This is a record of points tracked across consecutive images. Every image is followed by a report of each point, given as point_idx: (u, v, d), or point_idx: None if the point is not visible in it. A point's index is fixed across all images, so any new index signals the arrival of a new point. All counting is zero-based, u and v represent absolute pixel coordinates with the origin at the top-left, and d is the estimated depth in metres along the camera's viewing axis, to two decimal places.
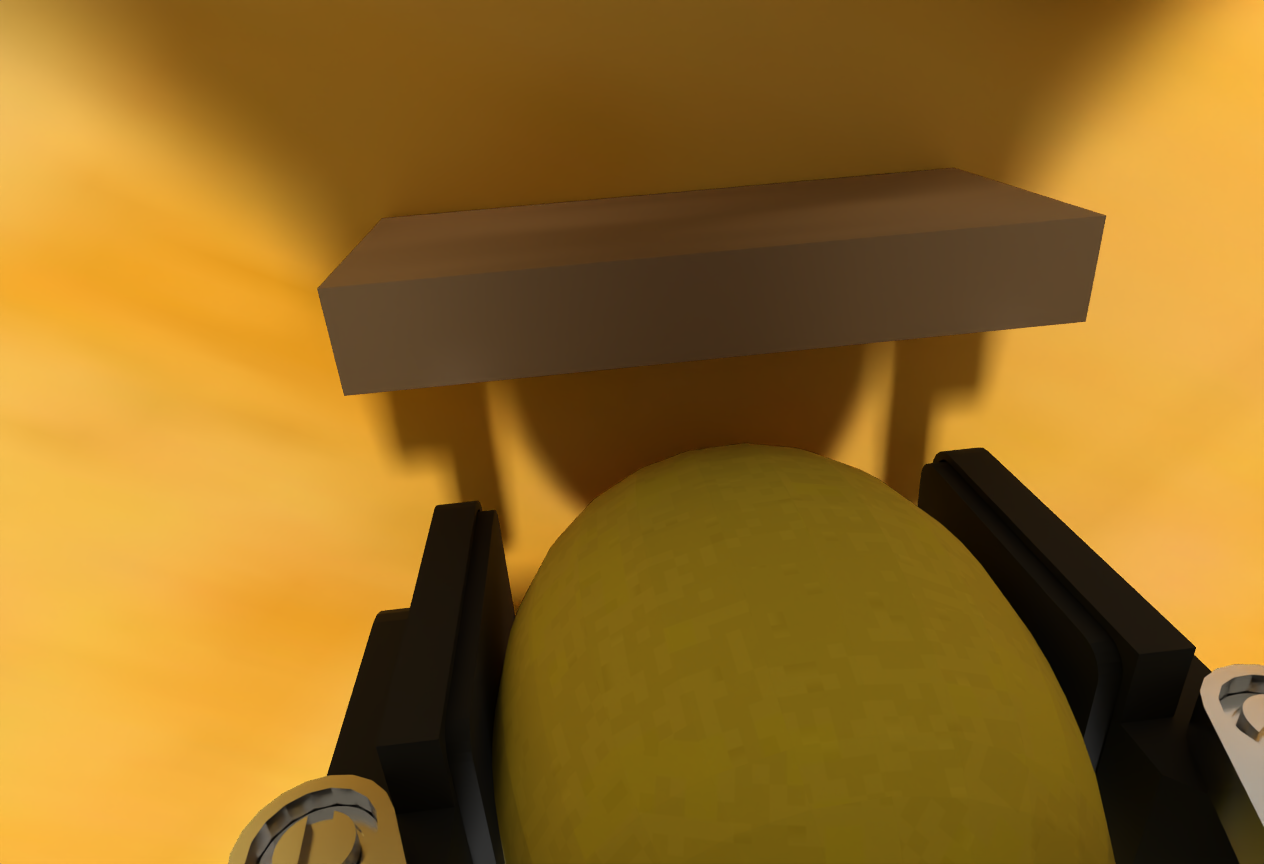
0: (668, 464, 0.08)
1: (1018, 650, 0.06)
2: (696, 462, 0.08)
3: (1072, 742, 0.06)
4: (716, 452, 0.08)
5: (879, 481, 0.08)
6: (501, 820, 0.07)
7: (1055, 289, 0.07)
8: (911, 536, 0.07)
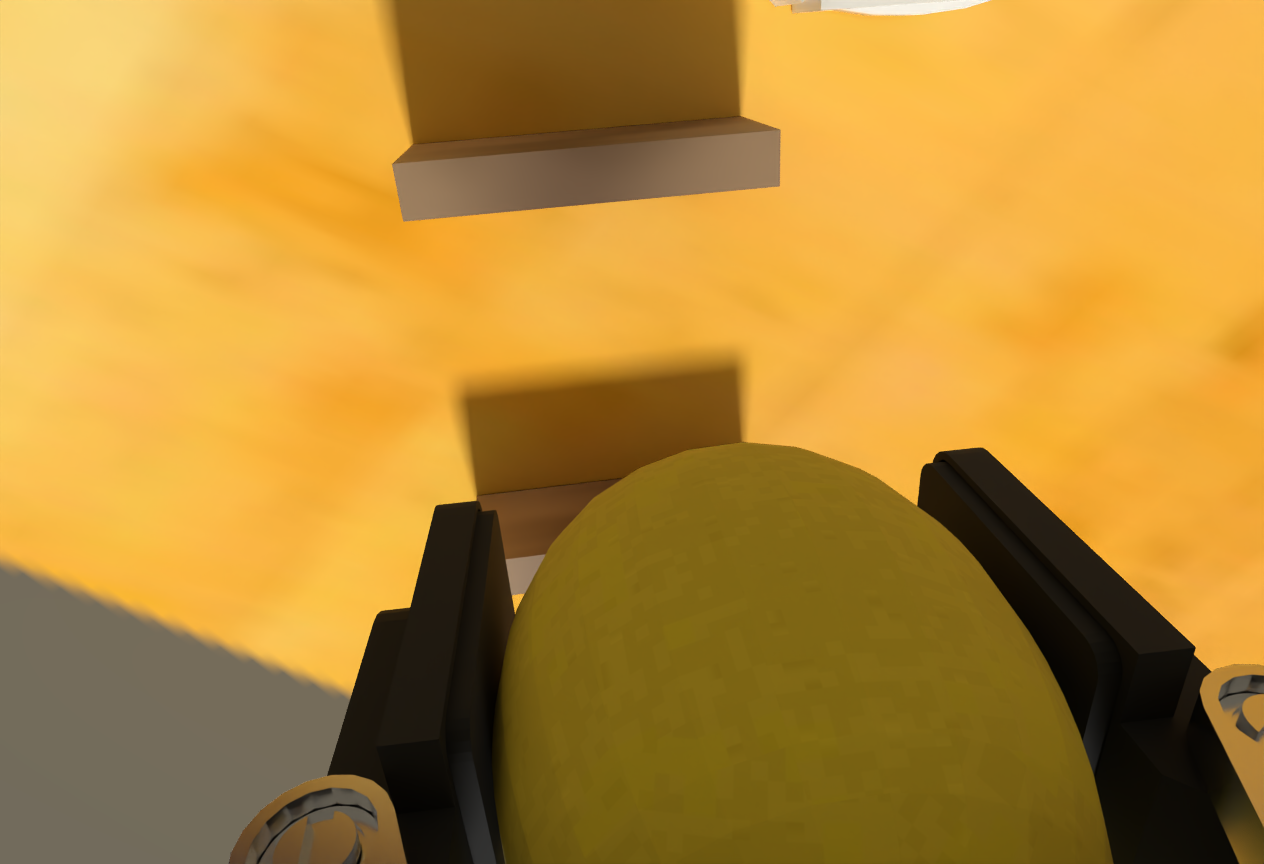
0: (667, 463, 0.08)
1: (1016, 648, 0.06)
2: (694, 461, 0.08)
3: (1069, 739, 0.06)
4: (715, 451, 0.08)
5: (878, 480, 0.08)
6: (501, 817, 0.07)
7: (761, 168, 0.15)
8: (908, 534, 0.07)
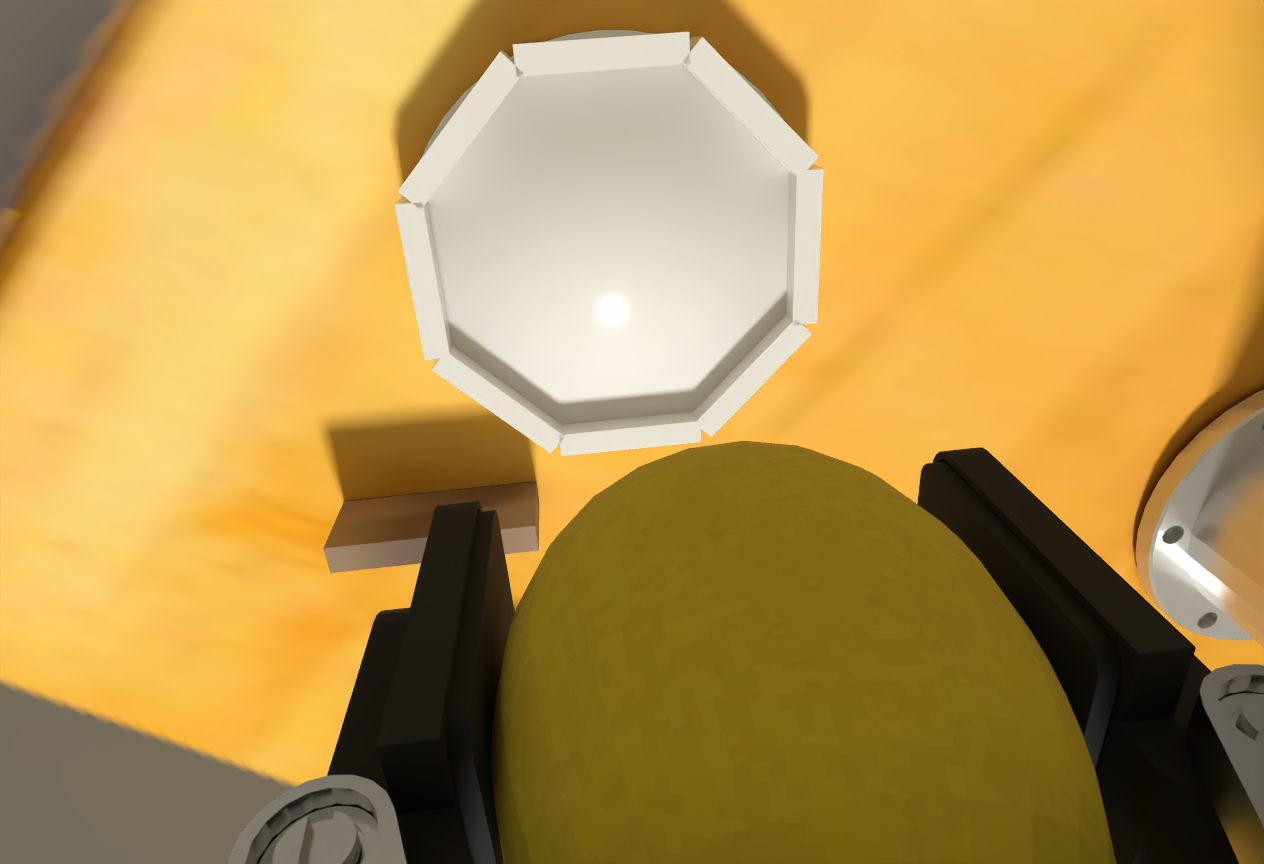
0: (667, 462, 0.08)
1: (1018, 647, 0.06)
2: (695, 460, 0.08)
3: (1072, 739, 0.06)
4: (715, 450, 0.08)
5: (879, 479, 0.08)
6: (500, 818, 0.07)
7: (526, 543, 0.27)
8: (911, 533, 0.07)
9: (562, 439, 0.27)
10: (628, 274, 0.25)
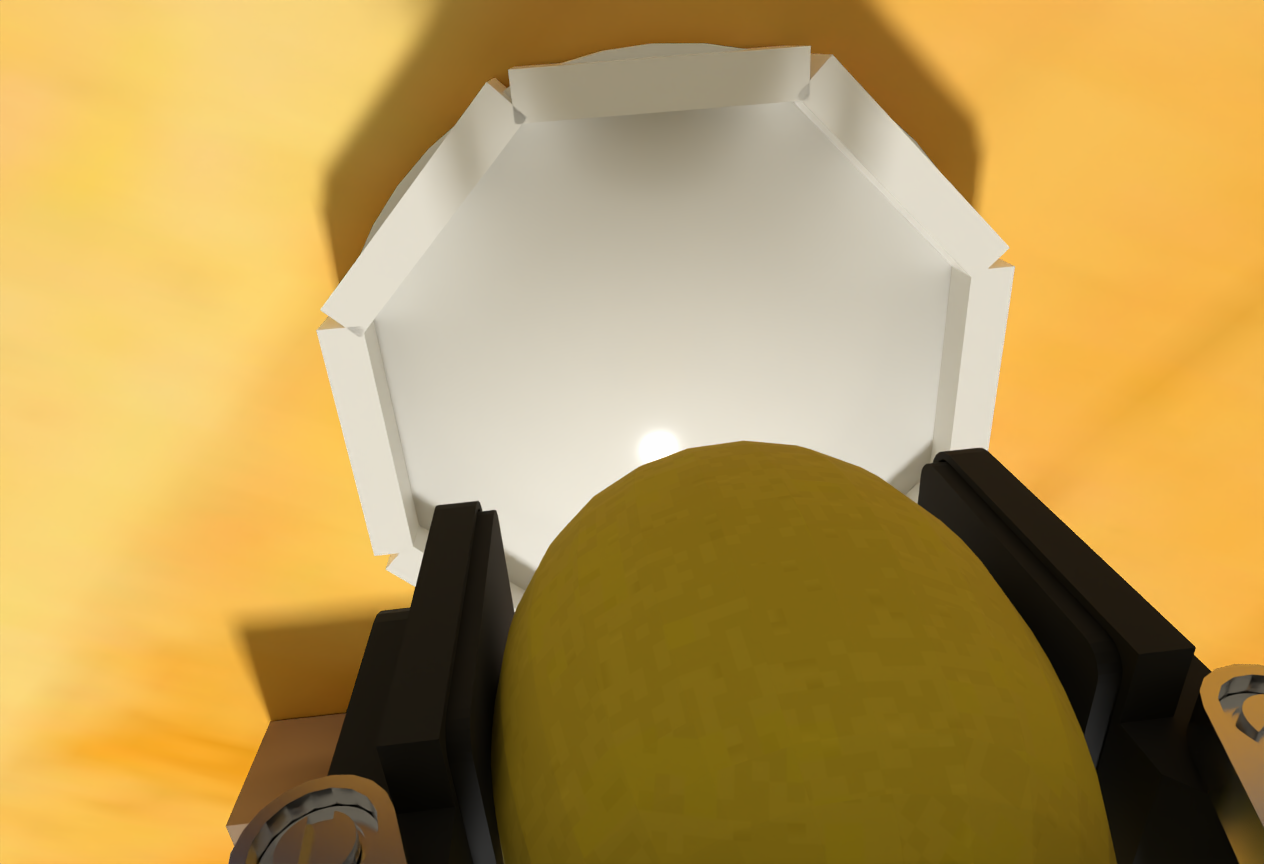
0: (667, 461, 0.08)
1: (1019, 647, 0.06)
2: (696, 459, 0.08)
3: (1073, 739, 0.06)
4: (716, 449, 0.08)
5: (879, 478, 0.08)
6: (500, 818, 0.07)
7: None
8: (911, 532, 0.07)
9: None
10: (691, 421, 0.16)
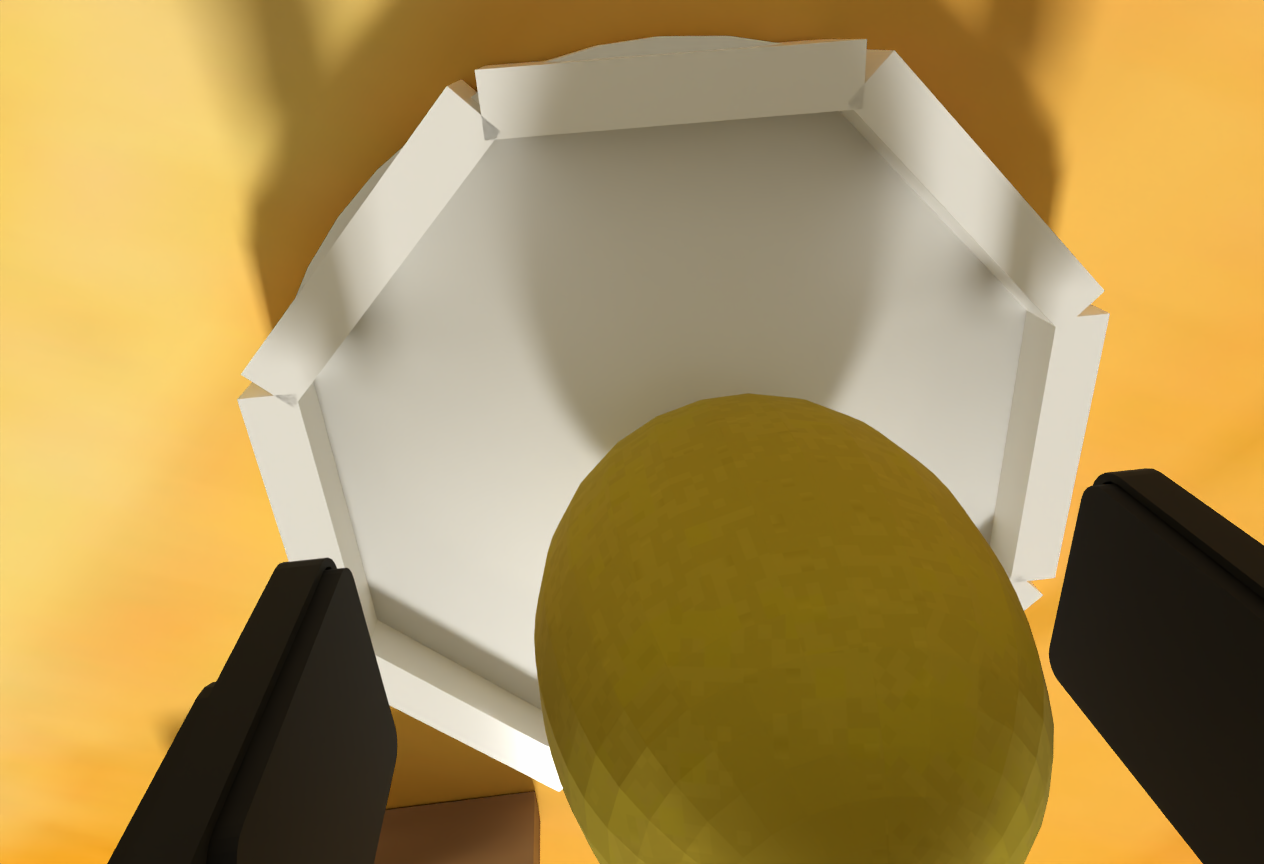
0: (682, 409, 0.10)
1: (975, 550, 0.08)
2: (707, 406, 0.09)
3: (1017, 621, 0.07)
4: (724, 399, 0.10)
5: (864, 423, 0.10)
6: (547, 698, 0.08)
7: None
8: (889, 461, 0.08)
9: None
10: None
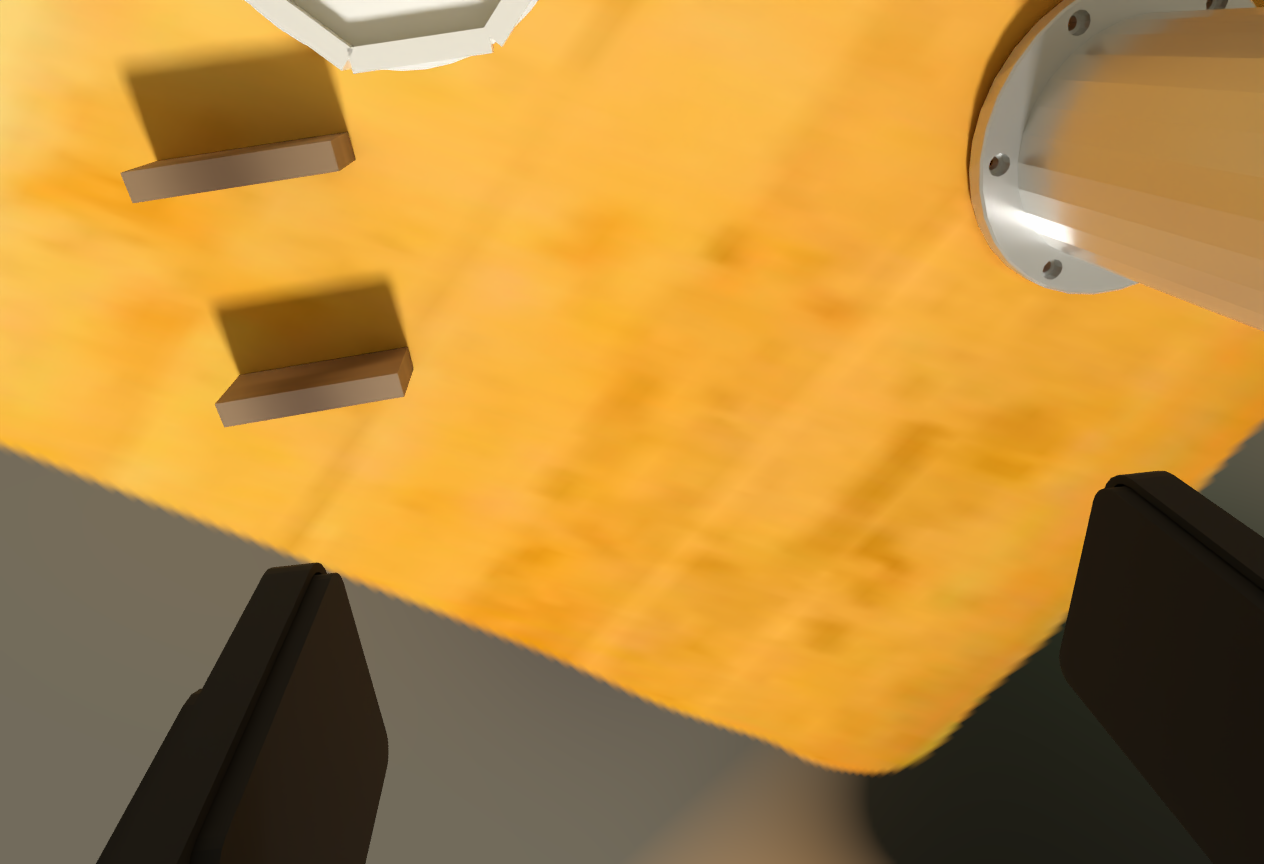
0: None
1: None
2: None
3: None
4: None
5: None
6: None
7: (325, 162, 0.27)
8: None
9: (351, 53, 0.27)
10: None
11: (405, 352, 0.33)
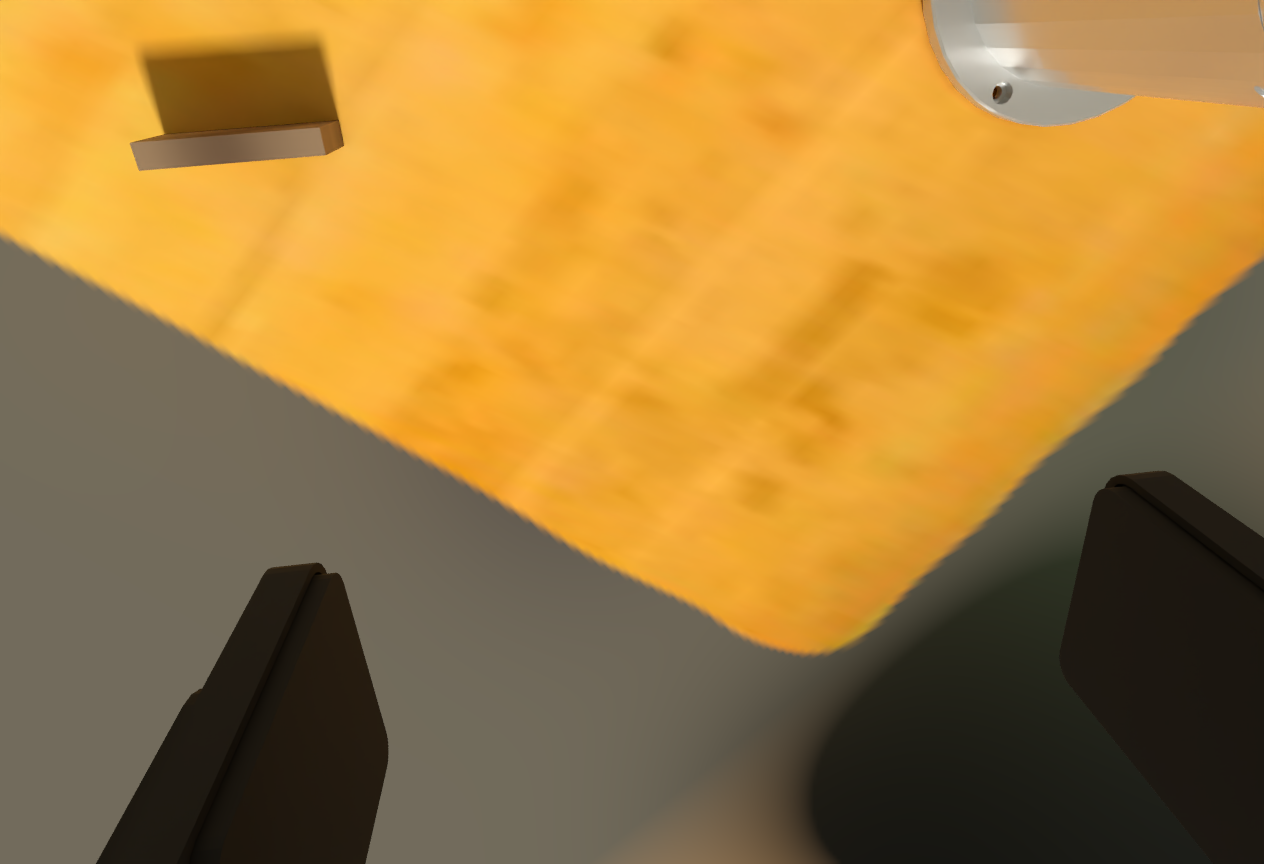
0: None
1: None
2: None
3: None
4: None
5: None
6: None
7: None
8: None
9: None
10: None
11: (334, 122, 0.32)
